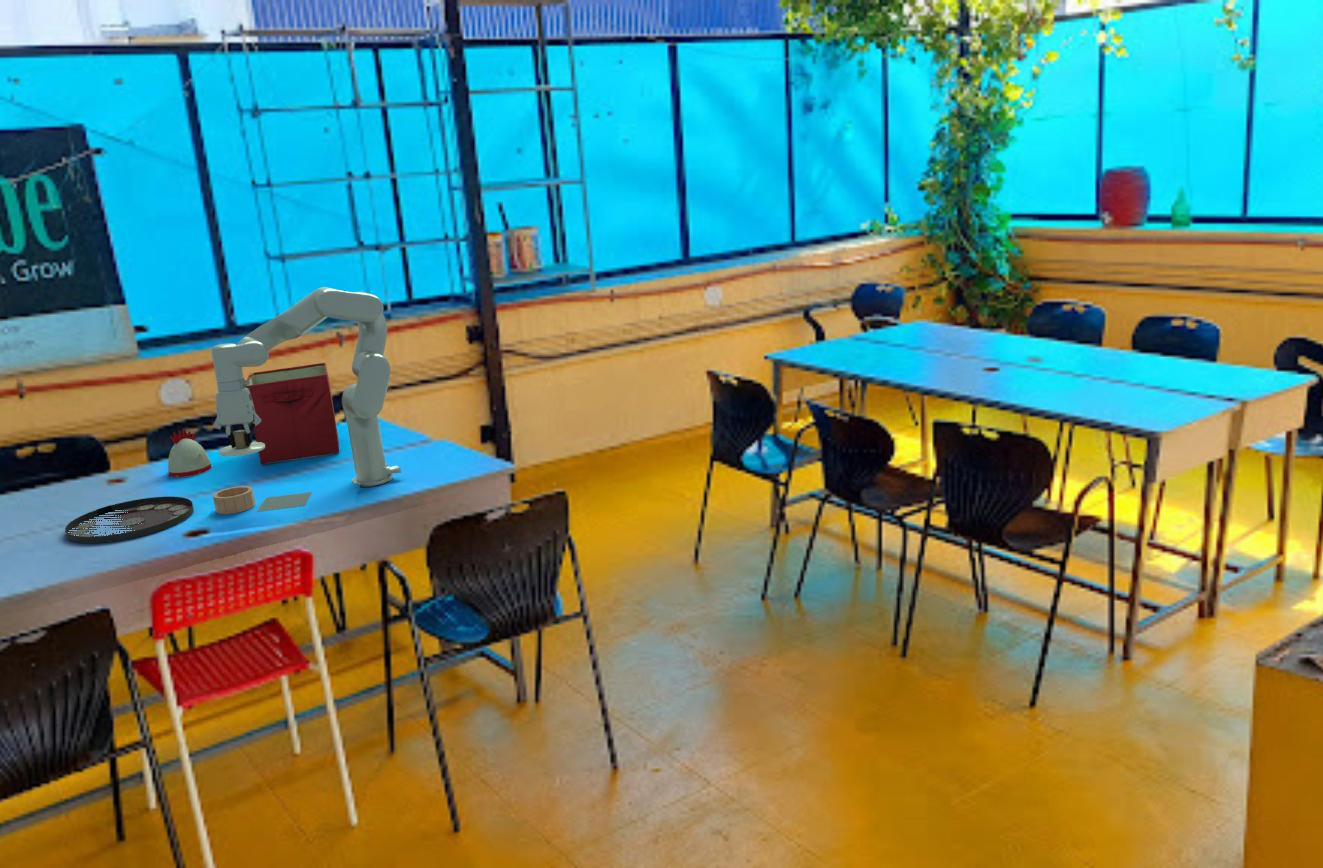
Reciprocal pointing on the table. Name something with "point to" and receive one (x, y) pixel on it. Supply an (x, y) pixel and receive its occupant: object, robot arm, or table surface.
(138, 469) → the table surface
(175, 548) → the table surface
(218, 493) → the bowl
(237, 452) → the lid
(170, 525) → the palette wheel
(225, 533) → the table surface
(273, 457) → the storage cube
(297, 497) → the mat
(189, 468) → the beanie hat
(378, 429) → the robot arm
